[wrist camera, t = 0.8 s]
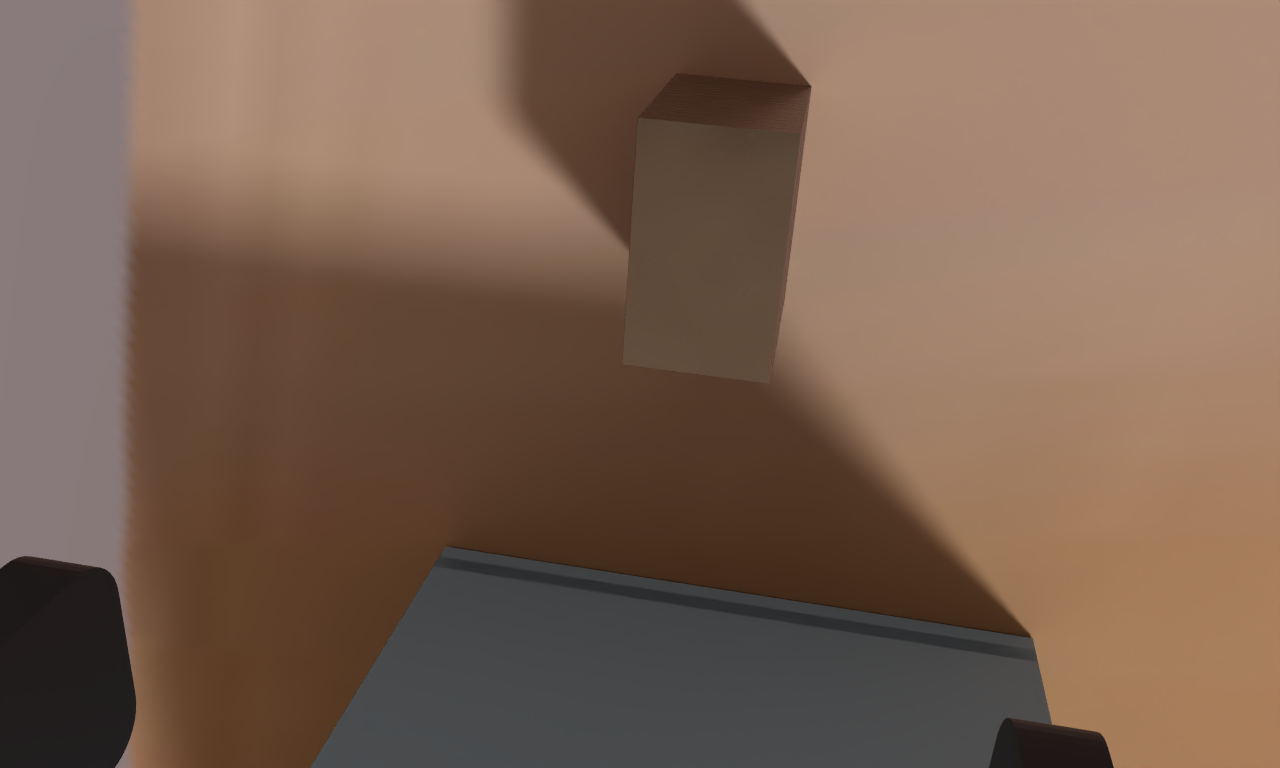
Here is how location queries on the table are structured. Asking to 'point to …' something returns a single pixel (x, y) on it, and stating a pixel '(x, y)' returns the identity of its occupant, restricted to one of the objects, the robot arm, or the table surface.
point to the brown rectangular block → (713, 225)
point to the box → (671, 679)
